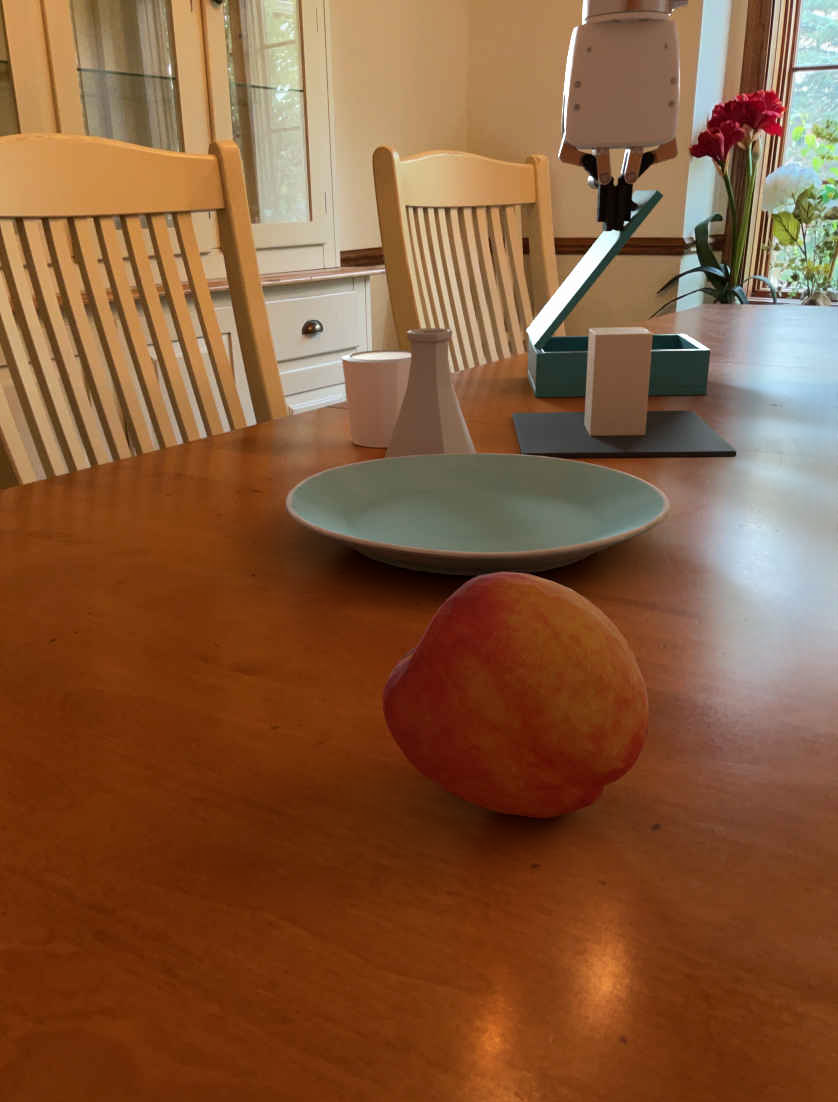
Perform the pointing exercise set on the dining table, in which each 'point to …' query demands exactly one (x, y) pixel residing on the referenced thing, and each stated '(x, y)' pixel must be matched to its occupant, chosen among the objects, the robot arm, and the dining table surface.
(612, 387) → the beige rectangular block
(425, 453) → the flask
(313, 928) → the dining table surface
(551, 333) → the lunchbox lid
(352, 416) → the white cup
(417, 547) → the plate
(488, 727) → the fruit
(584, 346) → the box
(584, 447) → the mat
